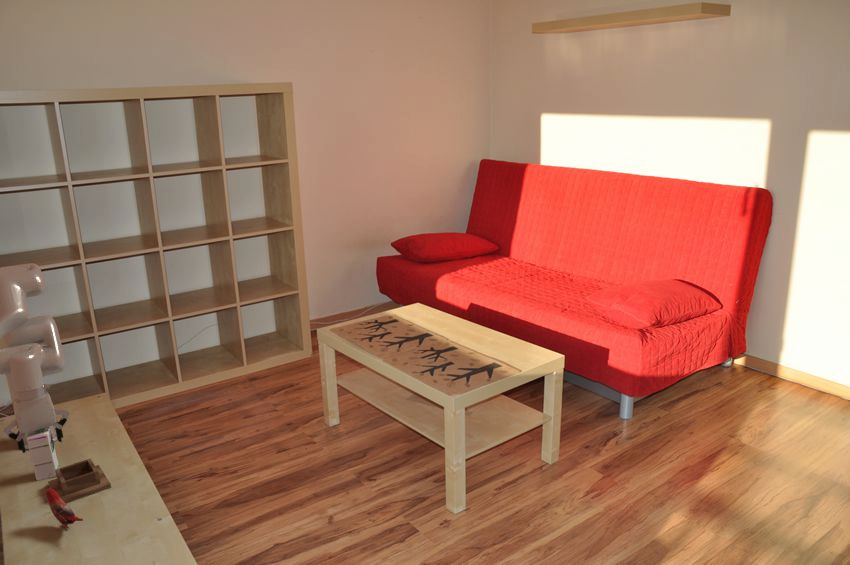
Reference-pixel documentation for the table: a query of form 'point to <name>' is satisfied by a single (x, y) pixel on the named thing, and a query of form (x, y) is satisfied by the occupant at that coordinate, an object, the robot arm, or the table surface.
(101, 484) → the stand
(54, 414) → the robot arm
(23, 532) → the table surface
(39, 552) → the table surface
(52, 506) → the decorative bird figurine
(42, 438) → the syrup box
